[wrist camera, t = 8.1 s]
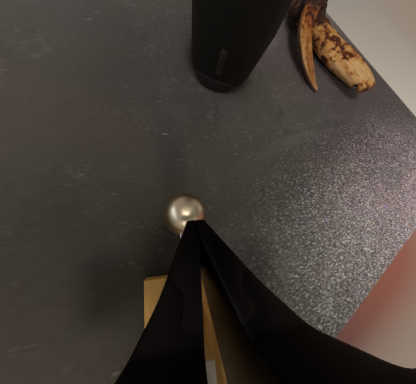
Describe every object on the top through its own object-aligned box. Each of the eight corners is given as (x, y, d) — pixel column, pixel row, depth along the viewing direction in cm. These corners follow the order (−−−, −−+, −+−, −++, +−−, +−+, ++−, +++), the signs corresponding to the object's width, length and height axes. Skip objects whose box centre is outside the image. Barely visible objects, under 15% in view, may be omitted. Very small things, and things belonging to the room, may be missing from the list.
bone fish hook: (258, 28, 28) (331, 117, 27) (273, -10, 24) (362, 95, 22) (298, 9, 30) (368, 90, 29) (319, -30, 26) (402, 64, 25)
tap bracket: (145, 277, 18) (121, 320, 10) (221, 267, 20) (258, 296, 11) (147, 394, 16) (120, 572, 8) (231, 372, 18) (282, 501, 10)
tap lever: (163, 201, 17) (161, 186, 14) (200, 199, 18) (206, 185, 15) (169, 400, 12) (167, 450, 9) (221, 386, 13) (236, 427, 10)
